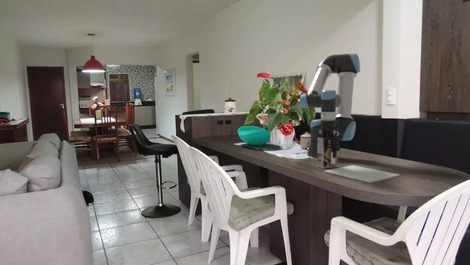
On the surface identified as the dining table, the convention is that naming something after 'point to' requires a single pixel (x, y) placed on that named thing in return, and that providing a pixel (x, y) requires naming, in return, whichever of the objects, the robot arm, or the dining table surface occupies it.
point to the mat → (362, 173)
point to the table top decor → (254, 135)
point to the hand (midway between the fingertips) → (327, 162)
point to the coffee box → (325, 153)
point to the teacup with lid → (305, 140)
